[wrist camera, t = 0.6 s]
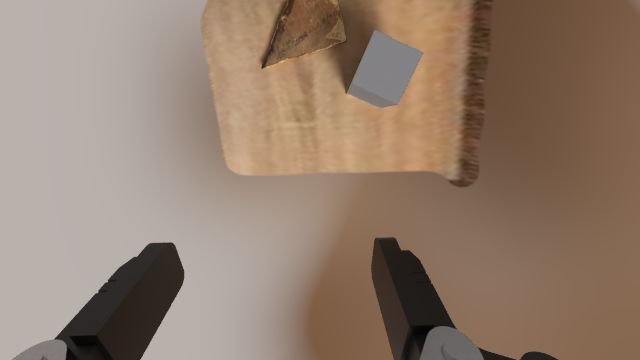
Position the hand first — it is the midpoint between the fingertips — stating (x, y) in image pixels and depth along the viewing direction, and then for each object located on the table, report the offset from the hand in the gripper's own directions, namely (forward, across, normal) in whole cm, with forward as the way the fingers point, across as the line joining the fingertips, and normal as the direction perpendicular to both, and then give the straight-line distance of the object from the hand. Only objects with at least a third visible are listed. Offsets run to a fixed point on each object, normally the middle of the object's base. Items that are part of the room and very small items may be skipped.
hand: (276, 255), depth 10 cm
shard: (+28, -2, -9) cm, 29 cm away
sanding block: (+25, -9, -4) cm, 27 cm away
